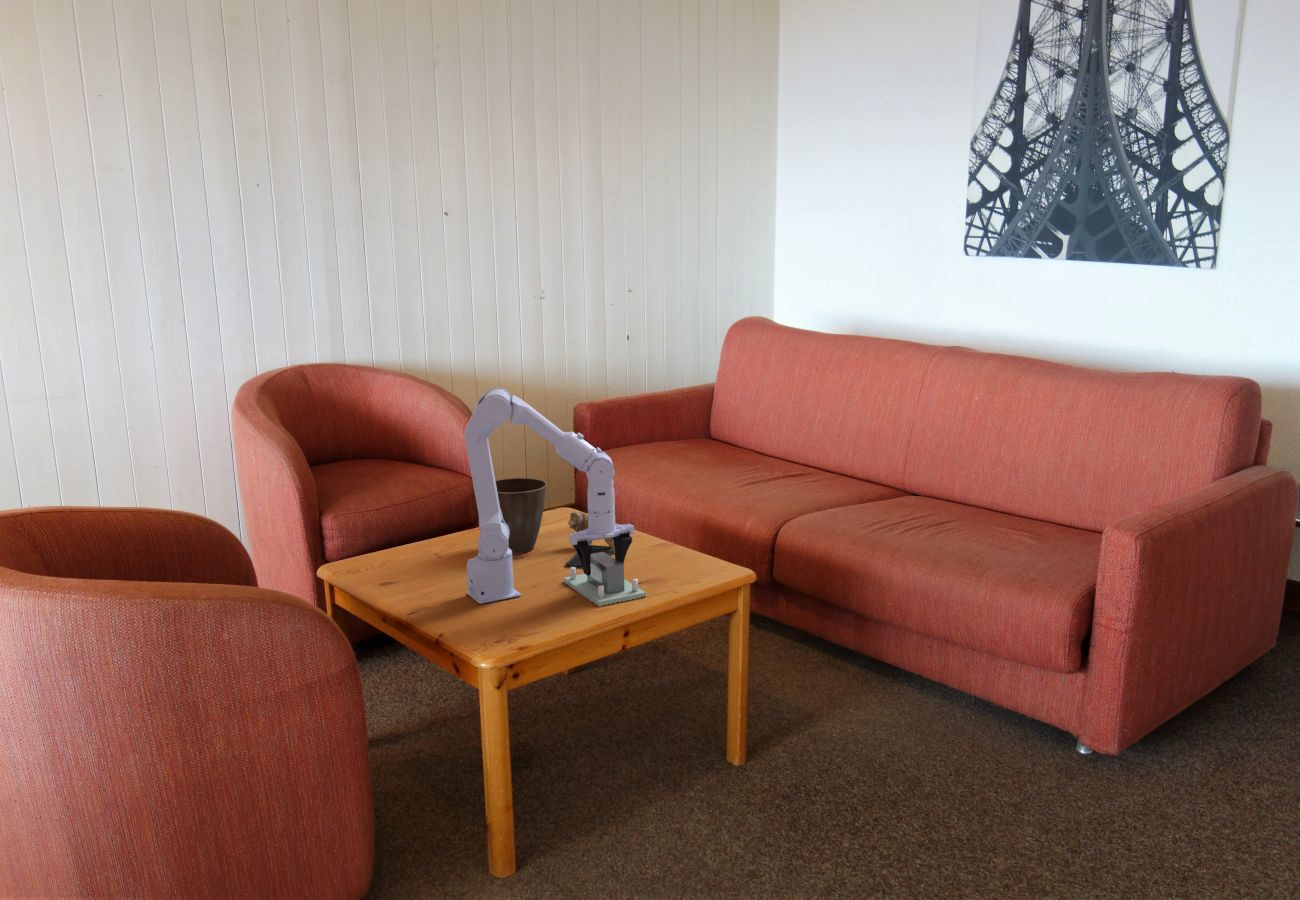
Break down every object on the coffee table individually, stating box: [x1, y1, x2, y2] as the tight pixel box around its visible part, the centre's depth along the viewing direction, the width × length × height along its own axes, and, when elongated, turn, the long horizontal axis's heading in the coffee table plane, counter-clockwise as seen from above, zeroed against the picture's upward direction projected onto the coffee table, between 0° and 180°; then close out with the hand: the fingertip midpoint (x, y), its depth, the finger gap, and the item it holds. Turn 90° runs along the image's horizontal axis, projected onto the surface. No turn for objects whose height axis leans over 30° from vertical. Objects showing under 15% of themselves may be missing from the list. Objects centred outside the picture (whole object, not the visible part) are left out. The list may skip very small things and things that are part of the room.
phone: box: [565, 544, 614, 569], centre depth 260 cm, size 8×1×15 cm
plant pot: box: [495, 477, 547, 554], centre depth 267 cm, size 15×15×16 cm
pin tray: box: [562, 567, 647, 607], centre depth 239 cm, size 11×18×4 cm, turn 28°
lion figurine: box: [567, 510, 615, 555], centre depth 266 cm, size 15×5×9 cm, turn 66°
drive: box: [587, 552, 625, 594], centre depth 237 cm, size 4×10×6 cm, turn 28°
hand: (603, 571), depth 238 cm, fingers open, 7 cm apart
